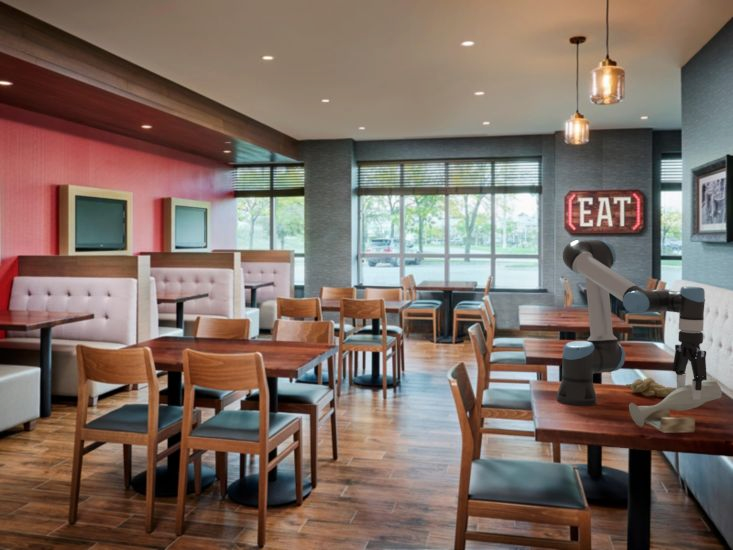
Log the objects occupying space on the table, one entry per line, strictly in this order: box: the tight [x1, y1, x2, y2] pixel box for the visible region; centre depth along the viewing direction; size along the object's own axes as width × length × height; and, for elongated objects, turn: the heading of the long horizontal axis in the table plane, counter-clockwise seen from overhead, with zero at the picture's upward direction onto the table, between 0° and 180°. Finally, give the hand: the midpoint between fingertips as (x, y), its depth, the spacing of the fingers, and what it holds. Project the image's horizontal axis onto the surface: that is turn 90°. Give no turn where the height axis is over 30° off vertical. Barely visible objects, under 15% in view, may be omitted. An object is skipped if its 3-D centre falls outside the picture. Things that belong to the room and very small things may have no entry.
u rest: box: [639, 405, 696, 434], centre depth 212 cm, size 11×16×5 cm
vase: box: [628, 377, 723, 428], centre depth 212 cm, size 9×8×30 cm
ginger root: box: [625, 377, 674, 398], centre depth 255 cm, size 16×16×8 cm
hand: (688, 395), depth 212 cm, fingers closed on vase, 8 cm apart
